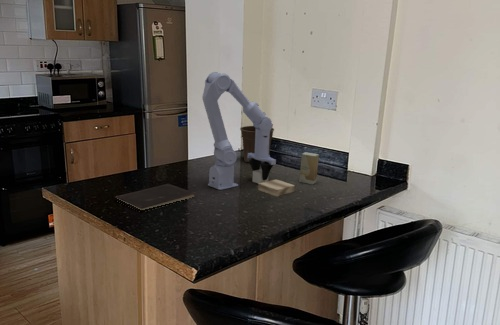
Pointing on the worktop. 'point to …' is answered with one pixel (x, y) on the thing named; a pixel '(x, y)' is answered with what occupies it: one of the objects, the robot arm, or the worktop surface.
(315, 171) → the skincare box
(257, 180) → the cream cube
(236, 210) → the worktop surface
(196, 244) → the worktop surface
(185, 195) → the hardcover book
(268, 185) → the oak plinth
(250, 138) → the plant pot
